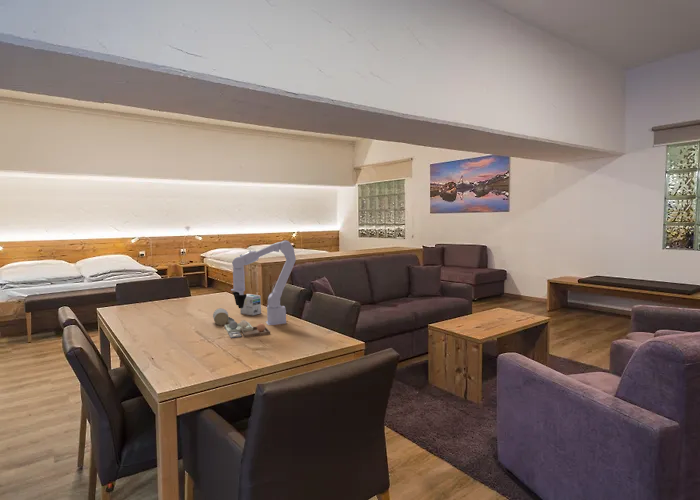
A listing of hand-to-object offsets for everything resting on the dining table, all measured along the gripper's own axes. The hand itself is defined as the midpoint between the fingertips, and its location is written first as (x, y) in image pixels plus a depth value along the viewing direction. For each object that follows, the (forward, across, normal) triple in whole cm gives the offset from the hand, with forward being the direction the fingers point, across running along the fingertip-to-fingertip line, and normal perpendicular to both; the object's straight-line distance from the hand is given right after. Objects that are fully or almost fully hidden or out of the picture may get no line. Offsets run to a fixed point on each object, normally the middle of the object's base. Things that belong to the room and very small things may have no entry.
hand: (239, 306), depth 212 cm
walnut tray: (+10, +18, +4) cm, 21 cm away
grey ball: (+9, +8, -5) cm, 13 cm away
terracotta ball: (+9, +18, +7) cm, 21 cm away
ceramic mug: (+10, -7, -7) cm, 14 cm away
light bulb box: (+10, -24, +10) cm, 28 cm away
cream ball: (+9, +8, 0) cm, 12 cm away
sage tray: (+10, +8, -2) cm, 13 cm away
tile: (+10, +19, -6) cm, 22 cm away
